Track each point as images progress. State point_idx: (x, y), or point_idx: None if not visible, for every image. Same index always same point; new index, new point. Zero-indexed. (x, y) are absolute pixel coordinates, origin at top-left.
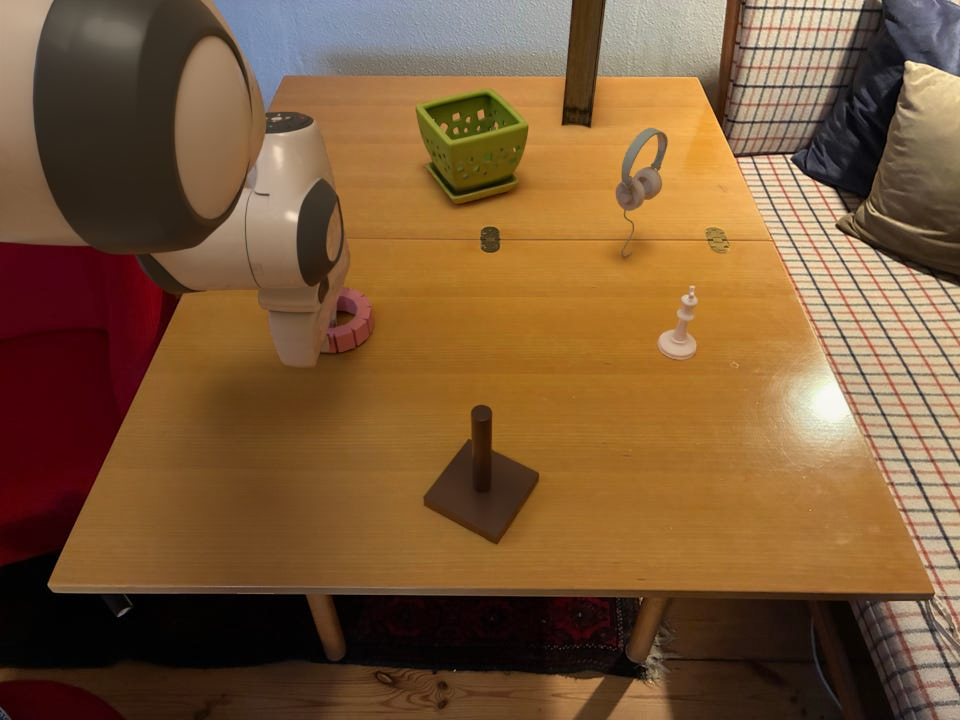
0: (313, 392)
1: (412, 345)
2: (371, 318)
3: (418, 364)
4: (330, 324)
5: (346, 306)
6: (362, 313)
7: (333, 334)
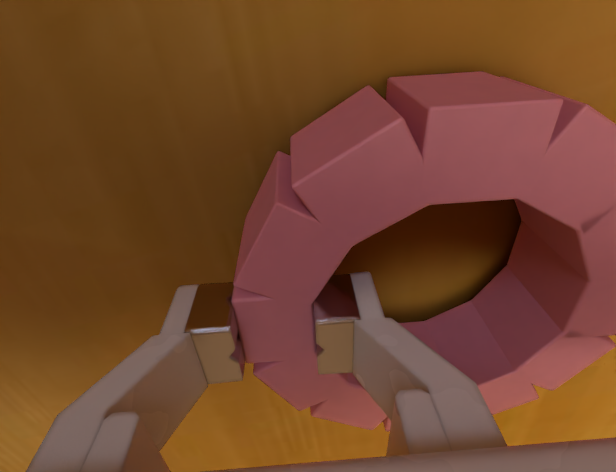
0: (36, 262)
1: (335, 429)
2: None
3: (269, 447)
4: (317, 363)
5: (521, 284)
6: None
7: (270, 360)
